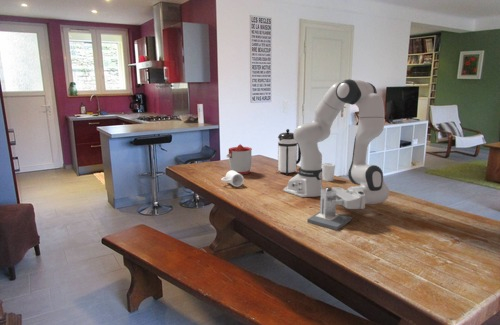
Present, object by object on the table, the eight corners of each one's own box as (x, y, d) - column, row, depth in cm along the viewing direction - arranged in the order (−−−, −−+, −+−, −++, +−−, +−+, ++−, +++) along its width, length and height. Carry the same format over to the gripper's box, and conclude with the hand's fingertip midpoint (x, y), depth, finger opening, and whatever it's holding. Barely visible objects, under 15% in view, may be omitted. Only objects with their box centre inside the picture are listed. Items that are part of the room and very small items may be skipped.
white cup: (325, 182, 213) (325, 166, 210) (319, 178, 220) (319, 163, 218) (336, 181, 215) (337, 165, 212) (330, 177, 222) (331, 162, 220)
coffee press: (299, 176, 226) (300, 130, 220) (274, 175, 229) (275, 130, 223) (300, 169, 243) (301, 127, 236) (278, 169, 246) (278, 127, 239)
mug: (237, 181, 215) (237, 169, 213) (244, 186, 206) (243, 173, 204) (219, 184, 210) (218, 171, 208) (225, 188, 201) (224, 175, 200)
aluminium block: (319, 214, 157) (320, 186, 154) (330, 212, 158) (331, 186, 155) (324, 218, 152) (325, 190, 149) (335, 216, 153) (336, 189, 150)
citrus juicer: (223, 171, 240) (223, 143, 235) (247, 169, 246) (247, 141, 241) (230, 177, 225) (230, 147, 221) (255, 174, 231) (255, 145, 227)
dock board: (307, 222, 152) (307, 218, 151) (322, 213, 162) (322, 209, 162) (336, 230, 143) (337, 226, 143) (351, 220, 153) (351, 216, 153)
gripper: (343, 183, 165) (316, 185, 162) (367, 196, 146) (337, 199, 143) (342, 195, 167) (316, 198, 163) (366, 210, 147) (337, 213, 144)
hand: (326, 198), depth 153 cm, fingers open, 8 cm apart
